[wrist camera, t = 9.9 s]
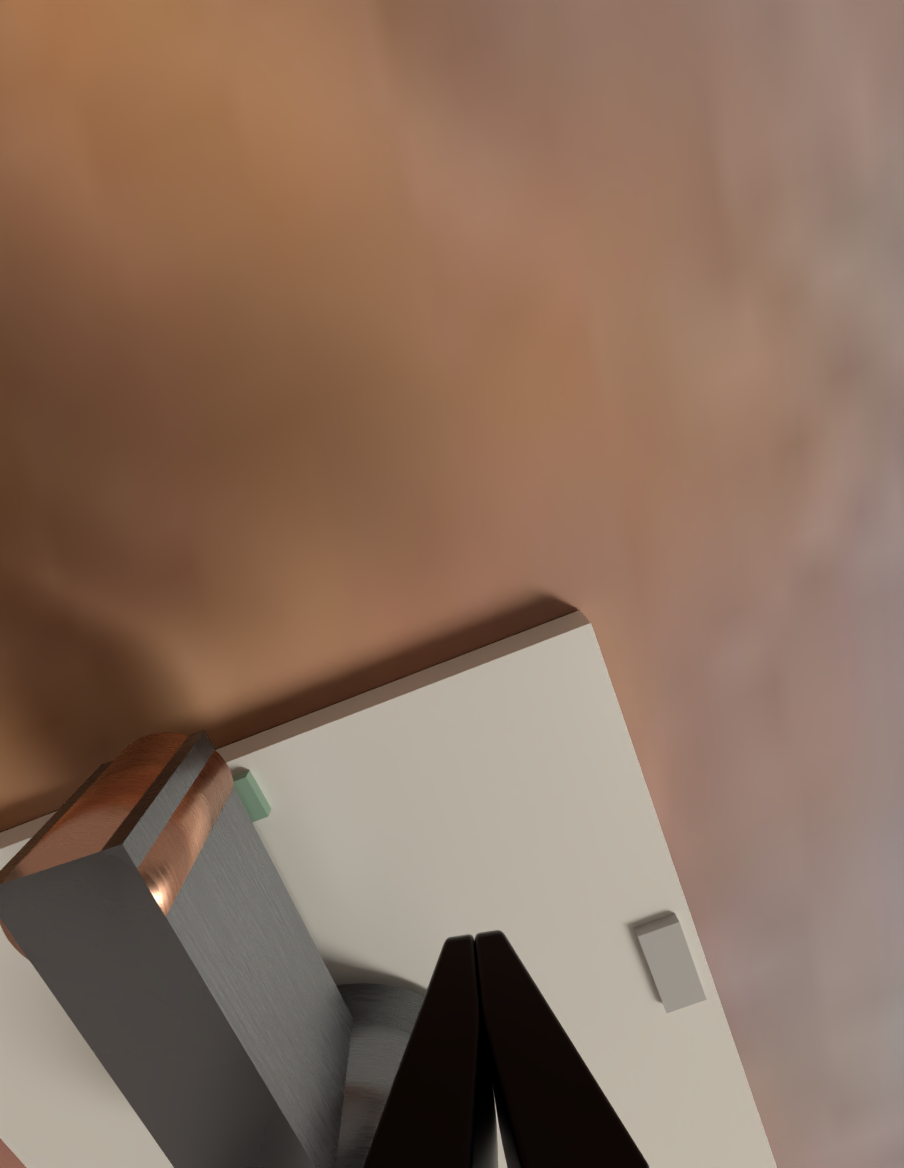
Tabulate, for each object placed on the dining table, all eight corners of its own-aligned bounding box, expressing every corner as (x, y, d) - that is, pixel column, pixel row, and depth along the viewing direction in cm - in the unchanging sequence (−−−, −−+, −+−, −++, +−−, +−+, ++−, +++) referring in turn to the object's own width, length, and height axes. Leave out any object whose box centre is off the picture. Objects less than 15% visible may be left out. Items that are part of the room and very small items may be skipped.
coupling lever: (510, 1124, 17) (547, 1411, 12) (292, 1190, 17) (241, 1498, 12) (308, 666, 13) (237, 813, 8) (26, 761, 13) (-215, 963, 8)
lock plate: (214, 1324, 21) (201, 1381, 20) (-153, 891, 15) (-204, 932, 14) (763, 1142, 20) (786, 1189, 19) (579, 610, 14) (594, 626, 13)
